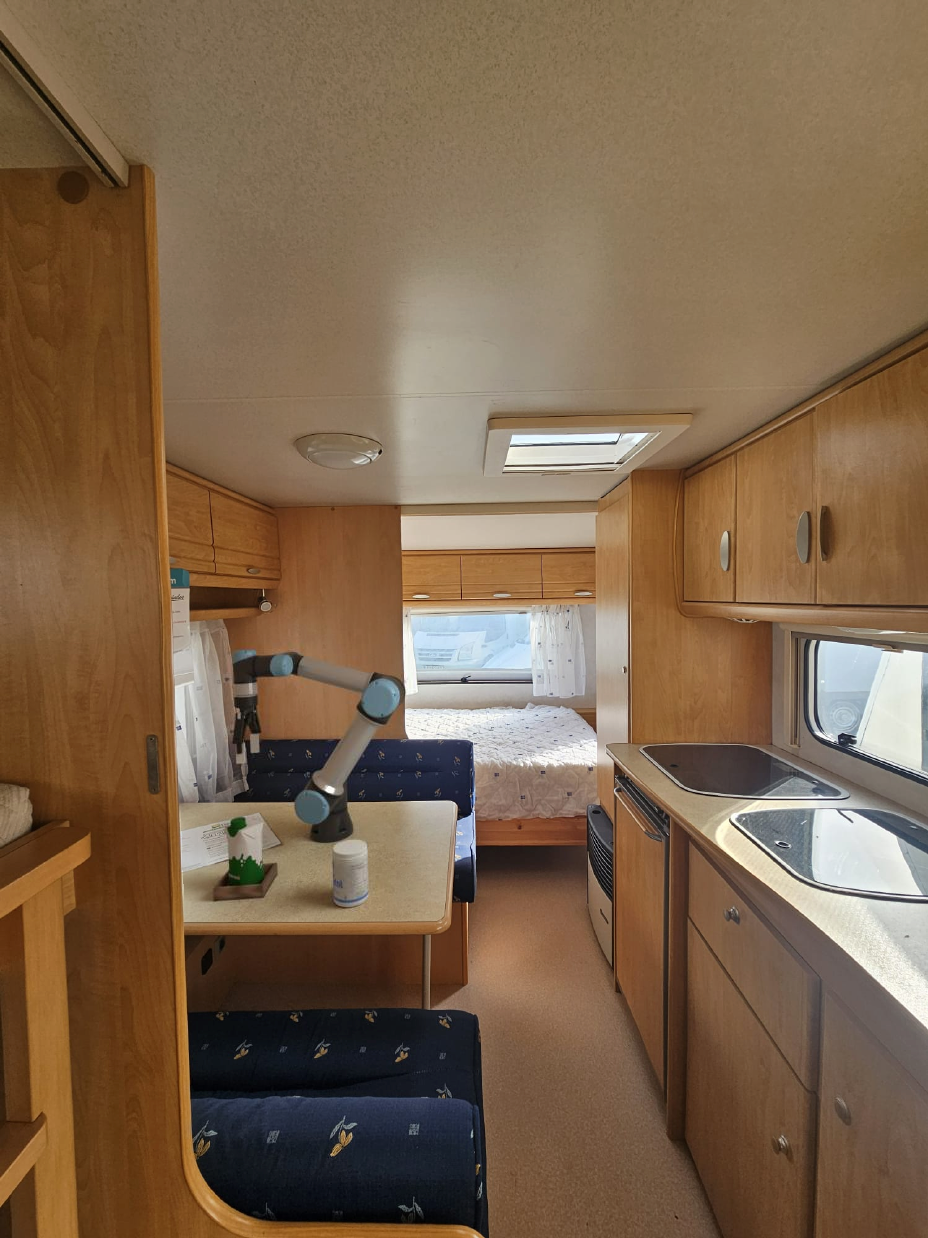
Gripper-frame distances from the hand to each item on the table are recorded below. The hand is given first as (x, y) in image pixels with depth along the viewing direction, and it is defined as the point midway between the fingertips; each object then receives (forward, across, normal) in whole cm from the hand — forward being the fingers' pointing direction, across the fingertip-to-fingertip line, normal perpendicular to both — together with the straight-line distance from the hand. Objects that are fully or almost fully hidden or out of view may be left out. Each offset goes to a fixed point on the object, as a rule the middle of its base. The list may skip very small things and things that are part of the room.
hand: (248, 757), depth 177 cm
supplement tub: (+32, +36, +39) cm, 62 cm away
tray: (+32, +25, +7) cm, 41 cm away
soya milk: (+31, +25, +7) cm, 41 cm away
